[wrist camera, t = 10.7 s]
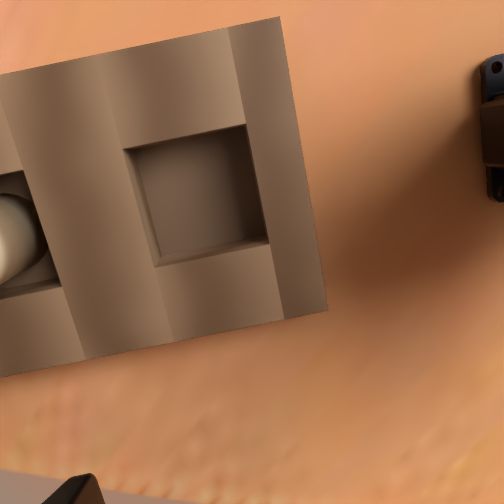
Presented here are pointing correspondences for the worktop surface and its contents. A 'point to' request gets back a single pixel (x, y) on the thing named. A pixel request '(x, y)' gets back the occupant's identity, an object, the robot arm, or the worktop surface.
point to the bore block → (157, 197)
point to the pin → (19, 236)
